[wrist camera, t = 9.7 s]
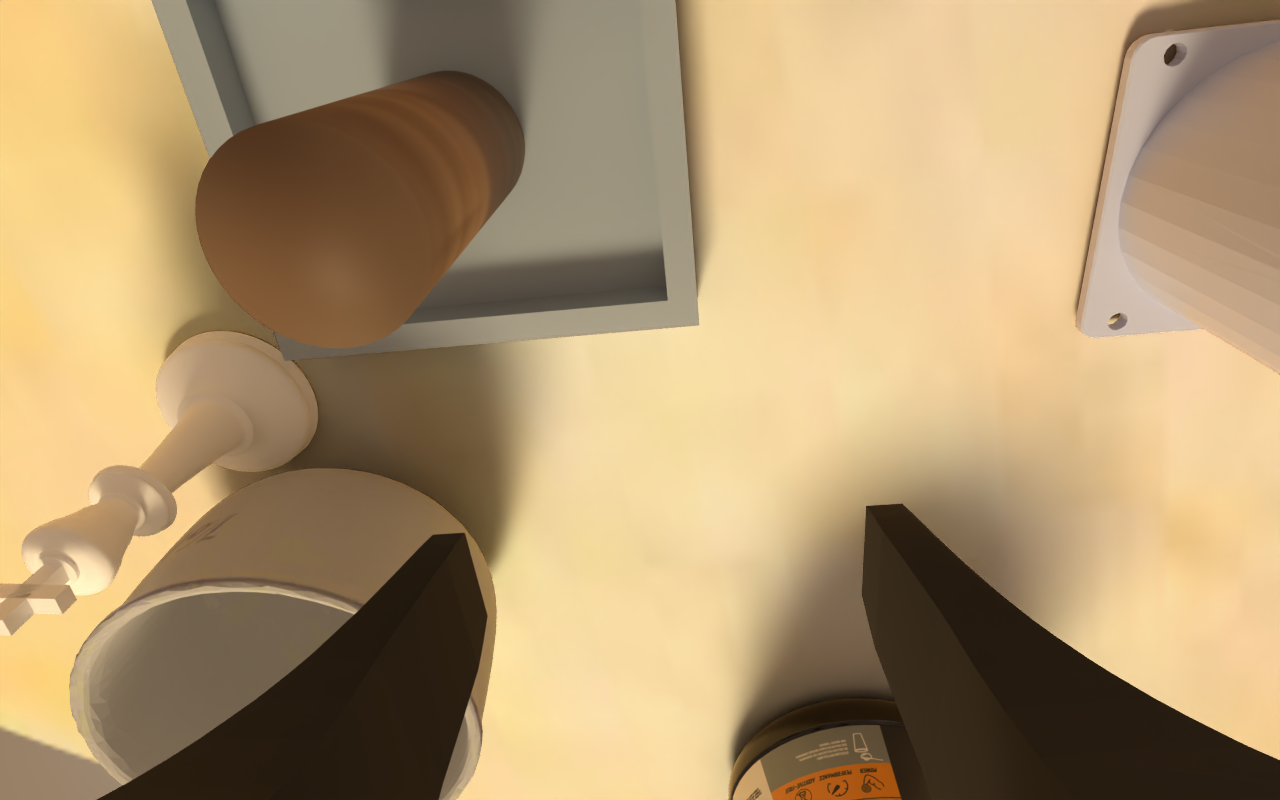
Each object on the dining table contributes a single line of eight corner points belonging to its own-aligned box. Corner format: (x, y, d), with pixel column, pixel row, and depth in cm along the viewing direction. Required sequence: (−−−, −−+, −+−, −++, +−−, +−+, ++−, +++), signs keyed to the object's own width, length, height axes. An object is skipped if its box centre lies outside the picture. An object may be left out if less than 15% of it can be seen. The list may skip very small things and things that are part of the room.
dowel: (518, 69, 18) (409, 118, 10) (530, 212, 20) (444, 347, 12) (377, 71, 19) (163, 122, 11) (401, 213, 20) (233, 348, 12)
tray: (667, -100, 17) (667, -111, 16) (696, 302, 22) (699, 325, 20) (183, -35, 18) (137, -40, 16) (311, 336, 23) (284, 360, 21)
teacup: (241, 381, 24) (60, 540, 17) (561, 481, 25) (520, 666, 18) (210, 665, 30) (70, 867, 23) (467, 732, 31) (409, 941, 24)
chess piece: (144, 329, 23) (-183, 531, 14) (299, 330, 23) (67, 534, 14) (191, 462, 25) (-64, 706, 16) (332, 463, 25) (151, 711, 16)
